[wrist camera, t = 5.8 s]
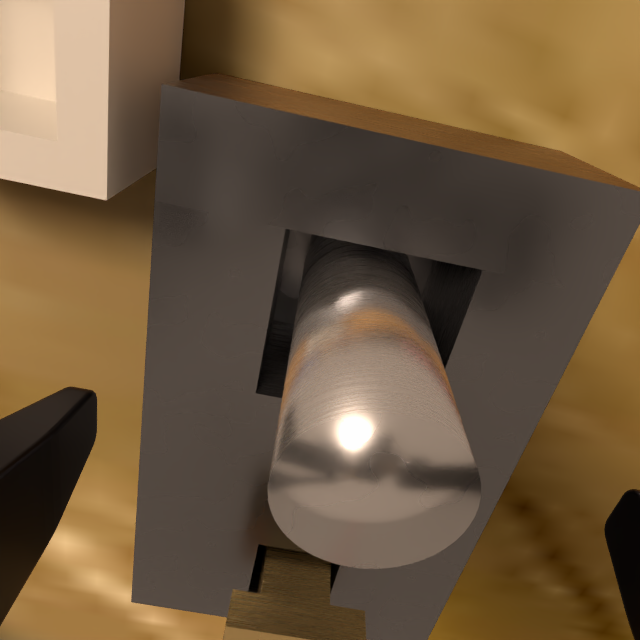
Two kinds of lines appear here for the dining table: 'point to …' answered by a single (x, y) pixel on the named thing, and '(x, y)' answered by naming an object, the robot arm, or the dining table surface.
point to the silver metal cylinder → (368, 418)
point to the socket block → (282, 299)
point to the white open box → (84, 90)
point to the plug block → (292, 603)
